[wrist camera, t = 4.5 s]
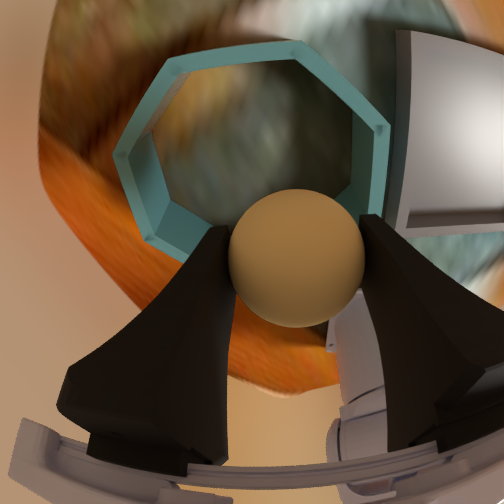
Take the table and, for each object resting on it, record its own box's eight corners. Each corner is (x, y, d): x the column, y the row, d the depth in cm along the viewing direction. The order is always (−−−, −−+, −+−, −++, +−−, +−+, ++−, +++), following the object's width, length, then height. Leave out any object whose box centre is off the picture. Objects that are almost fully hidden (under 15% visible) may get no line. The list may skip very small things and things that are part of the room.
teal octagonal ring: (357, 235, 21) (371, 273, 18) (175, 249, 22) (163, 287, 19) (364, 40, 12) (391, 44, 9) (122, 70, 14) (90, 82, 11)
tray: (509, 215, 19) (521, 229, 17) (383, 221, 20) (393, 239, 18) (539, 71, 10) (557, 79, 9) (395, 29, 11) (410, 30, 10)
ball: (345, 257, 13) (367, 346, 9) (242, 266, 13) (236, 357, 10) (350, 162, 10) (395, 243, 7) (223, 172, 10) (203, 258, 7)
